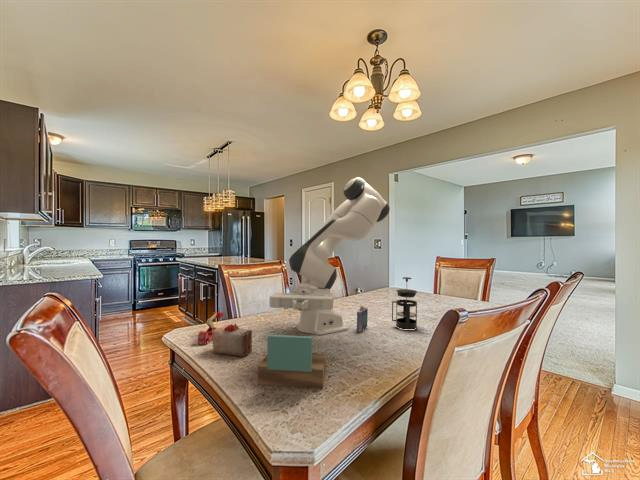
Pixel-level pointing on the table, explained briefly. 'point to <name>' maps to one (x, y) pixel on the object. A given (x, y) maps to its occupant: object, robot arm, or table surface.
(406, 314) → the french press
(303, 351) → the teal rectangular block
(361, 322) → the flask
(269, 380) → the brown wooden block
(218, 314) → the toy fire truck
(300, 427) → the table surface
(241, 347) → the grey paint-stained brick
